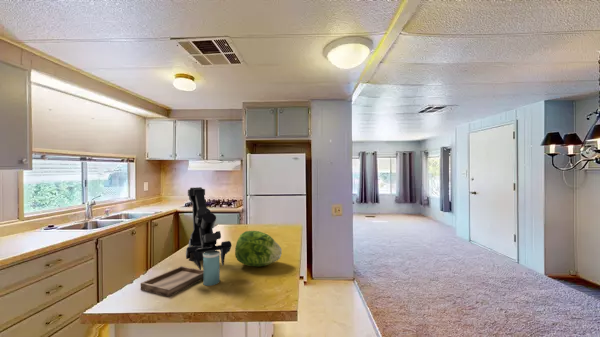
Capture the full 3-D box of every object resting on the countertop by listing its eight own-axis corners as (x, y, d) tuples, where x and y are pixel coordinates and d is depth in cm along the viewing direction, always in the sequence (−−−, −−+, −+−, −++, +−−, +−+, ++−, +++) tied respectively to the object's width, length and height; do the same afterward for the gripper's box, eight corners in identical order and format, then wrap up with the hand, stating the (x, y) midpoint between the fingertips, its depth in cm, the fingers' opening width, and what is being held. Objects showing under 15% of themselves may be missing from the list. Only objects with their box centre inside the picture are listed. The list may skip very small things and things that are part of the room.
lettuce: (276, 274, 117) (283, 236, 120) (227, 265, 118) (235, 228, 121) (280, 267, 134) (285, 234, 137) (237, 260, 135) (244, 228, 138)
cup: (199, 284, 106) (199, 254, 106) (210, 278, 112) (210, 249, 112) (212, 286, 103) (212, 256, 103) (223, 280, 109) (223, 251, 110)
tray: (140, 289, 101) (140, 283, 101) (181, 271, 120) (181, 266, 120) (168, 296, 95) (168, 289, 95) (207, 276, 114) (207, 271, 114)
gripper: (186, 228, 107) (190, 261, 97) (230, 223, 116) (237, 253, 107) (184, 242, 113) (187, 275, 104) (226, 236, 123) (232, 266, 113)
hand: (212, 267), depth 107 cm, fingers open, 9 cm apart
